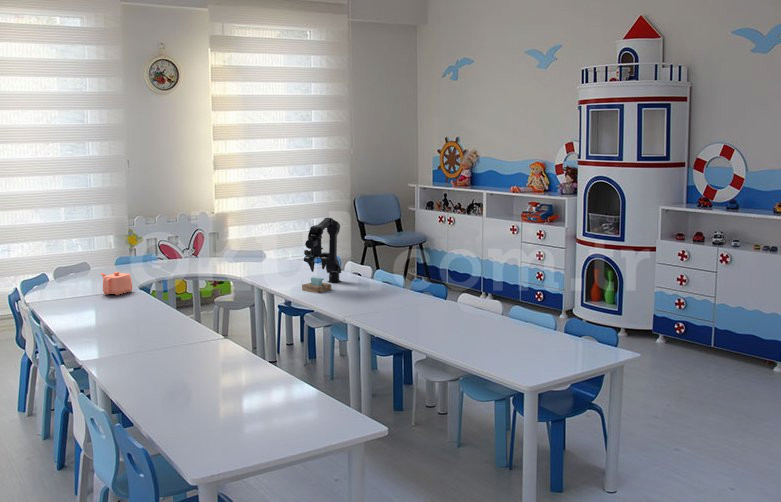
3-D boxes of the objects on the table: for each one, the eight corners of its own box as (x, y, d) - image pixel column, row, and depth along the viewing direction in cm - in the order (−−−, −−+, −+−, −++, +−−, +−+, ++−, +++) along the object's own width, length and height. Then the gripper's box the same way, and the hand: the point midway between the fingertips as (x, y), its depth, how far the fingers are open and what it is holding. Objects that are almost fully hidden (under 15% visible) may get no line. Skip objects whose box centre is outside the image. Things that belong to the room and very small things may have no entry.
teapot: (112, 288, 501) (110, 268, 498) (137, 290, 494) (135, 269, 492) (90, 295, 482) (88, 274, 480) (116, 297, 476) (114, 275, 473)
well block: (315, 286, 495) (315, 281, 494) (331, 289, 486) (331, 284, 485) (302, 290, 486) (301, 284, 485) (317, 293, 477) (317, 287, 476)
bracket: (314, 288, 489) (314, 276, 488) (324, 290, 484) (323, 278, 482) (311, 289, 487) (310, 277, 486) (320, 291, 481) (320, 279, 480)
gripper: (318, 242, 494) (319, 266, 497) (297, 247, 480) (298, 271, 483) (331, 244, 487) (331, 268, 490) (309, 248, 473) (310, 273, 476)
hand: (317, 270), depth 485 cm, fingers open, 9 cm apart
